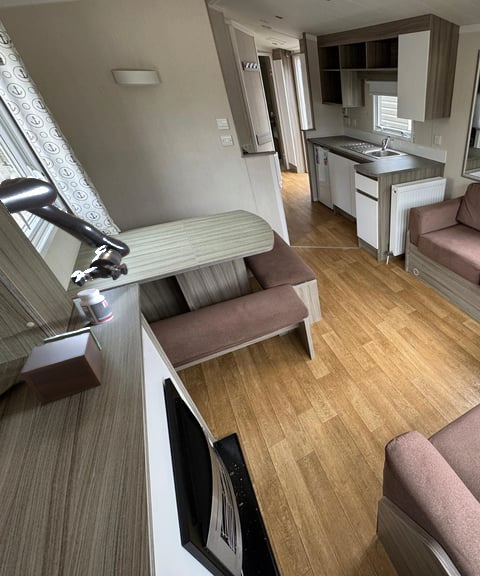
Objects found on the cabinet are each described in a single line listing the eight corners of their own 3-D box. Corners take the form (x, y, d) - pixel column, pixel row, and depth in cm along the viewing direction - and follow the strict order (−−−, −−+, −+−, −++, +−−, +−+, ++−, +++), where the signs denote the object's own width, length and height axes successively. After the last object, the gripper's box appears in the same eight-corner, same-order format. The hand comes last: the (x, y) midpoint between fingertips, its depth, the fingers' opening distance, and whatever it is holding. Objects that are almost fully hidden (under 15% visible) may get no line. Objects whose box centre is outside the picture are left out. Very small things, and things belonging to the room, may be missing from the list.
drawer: (58, 358, 76) (45, 336, 73) (102, 346, 81) (90, 324, 78) (50, 383, 69) (34, 359, 66) (98, 367, 73) (85, 344, 70)
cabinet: (52, 376, 72) (33, 347, 68) (104, 360, 77) (89, 332, 73) (42, 404, 64) (20, 373, 60) (101, 384, 69) (84, 354, 65)
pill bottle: (116, 313, 98) (102, 286, 93) (111, 322, 93) (97, 293, 89) (93, 318, 95) (78, 289, 91) (87, 327, 91) (71, 297, 86)
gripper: (75, 259, 106) (62, 275, 94) (126, 251, 113) (119, 265, 100) (85, 278, 109) (73, 296, 97) (133, 270, 116) (128, 285, 104)
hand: (97, 280), depth 99 cm, fingers open, 8 cm apart
